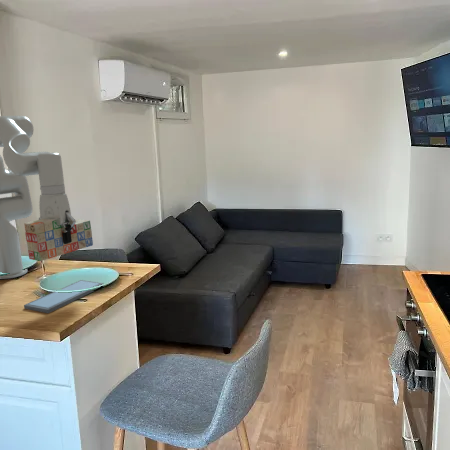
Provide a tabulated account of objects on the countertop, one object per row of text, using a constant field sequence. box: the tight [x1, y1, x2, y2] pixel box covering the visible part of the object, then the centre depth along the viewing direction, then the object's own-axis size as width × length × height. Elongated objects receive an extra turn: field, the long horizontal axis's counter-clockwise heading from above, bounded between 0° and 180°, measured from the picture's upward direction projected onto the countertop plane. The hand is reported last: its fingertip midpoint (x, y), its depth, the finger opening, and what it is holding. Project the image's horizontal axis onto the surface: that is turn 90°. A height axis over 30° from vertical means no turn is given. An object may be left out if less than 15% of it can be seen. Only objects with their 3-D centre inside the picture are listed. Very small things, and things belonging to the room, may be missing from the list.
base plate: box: [23, 279, 104, 314], centre depth 158 cm, size 11×26×1 cm, turn 153°
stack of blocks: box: [24, 219, 94, 262], centre depth 154 cm, size 21×6×12 cm, turn 145°
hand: (59, 241), depth 154 cm, fingers closed on stack of blocks, 6 cm apart
